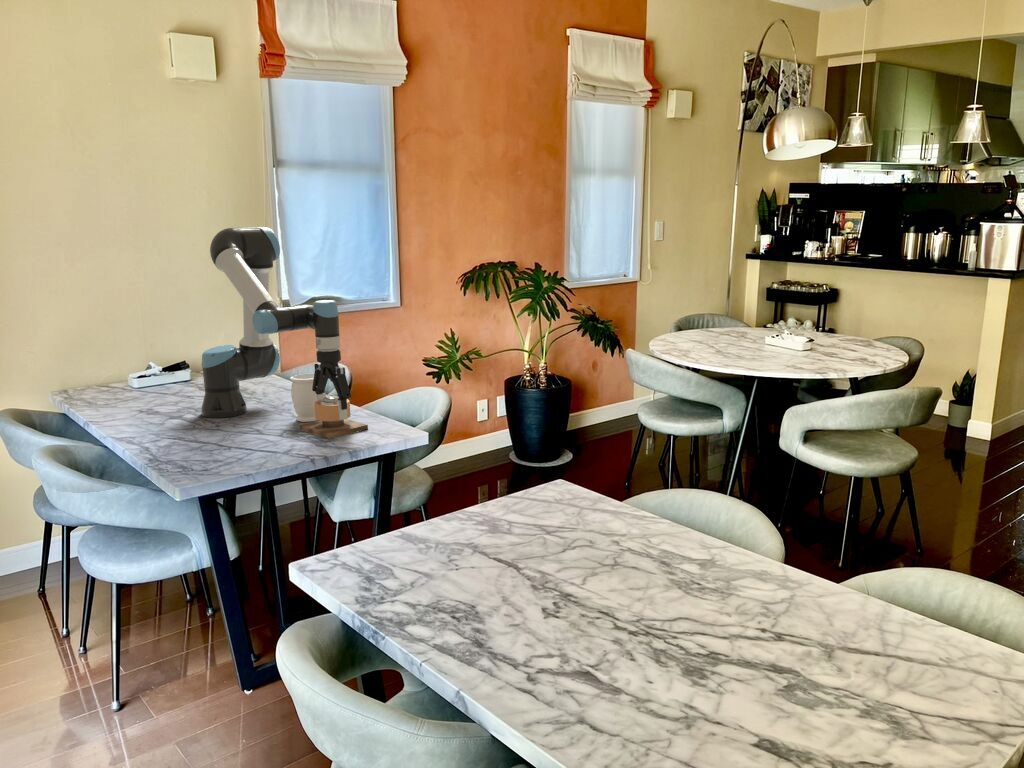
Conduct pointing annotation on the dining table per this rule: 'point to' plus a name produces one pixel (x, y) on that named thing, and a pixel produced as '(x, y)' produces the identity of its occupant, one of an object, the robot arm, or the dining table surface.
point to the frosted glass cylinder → (331, 401)
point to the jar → (303, 397)
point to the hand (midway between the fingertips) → (332, 416)
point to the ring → (328, 411)
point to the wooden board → (330, 433)
